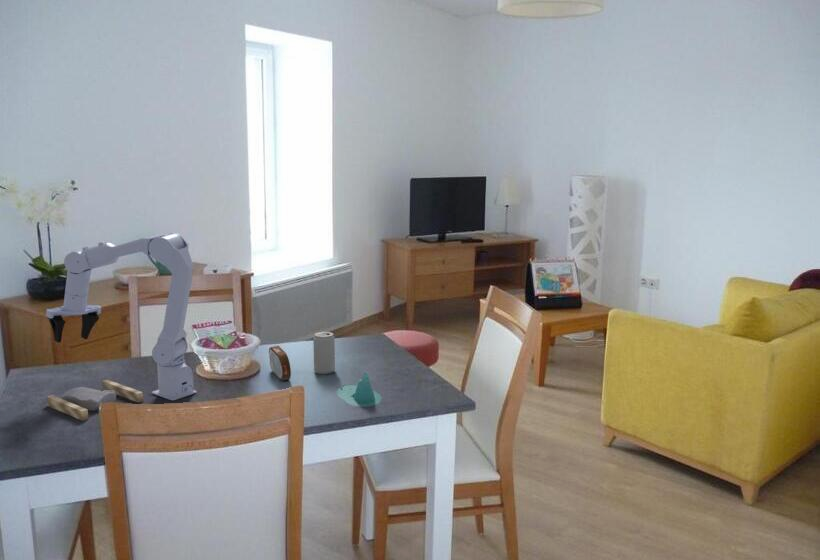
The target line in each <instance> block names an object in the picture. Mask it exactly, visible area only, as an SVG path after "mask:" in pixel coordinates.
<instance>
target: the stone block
mask: <svg viewBox="0 0 820 560" xmlns="http://www.w3.org/2000/svg"><path fill="white" fill-rule="evenodd" d="M60 398H61V399H63V400H66V401H68V402H70V403H73V404H75V405H78V406H80V407H83V408H85V409H87V410H88V412H89V411H90V412H99V404H100V403H102V402H114V403H115V402H116V399H117V395H116V394H115V391H113V390H103V389H102V390H99V389H94V388H91V387H86V386H85V387H84V386H79V387H73V388H71V389H69V390H67V391H65V392H64V393H62V396H61V397H60Z"/></svg>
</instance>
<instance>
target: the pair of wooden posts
mask: <svg viewBox="0 0 820 560" xmlns="http://www.w3.org/2000/svg"><path fill="white" fill-rule="evenodd" d="M101 385H102V387H101V388H102V391H103V390H113V391H115V394H116V396H119V397H122V398H125V399H127V400H130V401H133V402H136V403H138V404H139V403H142V402H144V392H143V391H141V390H137V389H135V388H133V387H129V386H126V385H123V384H121V383H118V382H115V381H112V380H109V379H104V380H101ZM61 398H62V397H59V396H56V395H54V394H50V395H48V396H46V403H47V404H46V405H47V406H48V407H50V408H52V409H54V410H57V411H59V412H61V413H64V414H66V415H68V416H71V417H73V418H75V419H77V420H80V421H82V422H84V421H88V420H89V411H88V410H87V409H85V408H83V407H80V406H78V405H75V404H73V403H70V402H68V401H66V400H63V399H61Z"/></svg>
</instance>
